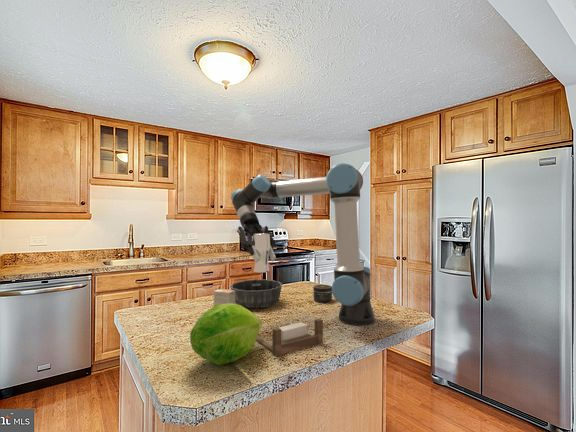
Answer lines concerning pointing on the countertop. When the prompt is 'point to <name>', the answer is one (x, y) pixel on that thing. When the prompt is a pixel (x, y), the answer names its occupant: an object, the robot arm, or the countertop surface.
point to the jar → (322, 293)
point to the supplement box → (224, 297)
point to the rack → (295, 344)
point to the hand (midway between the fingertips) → (265, 259)
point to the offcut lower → (295, 337)
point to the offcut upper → (293, 330)
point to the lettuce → (225, 333)
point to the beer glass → (262, 251)
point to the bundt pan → (256, 293)
